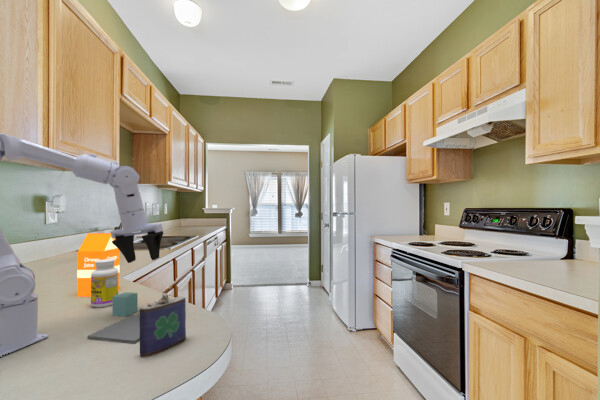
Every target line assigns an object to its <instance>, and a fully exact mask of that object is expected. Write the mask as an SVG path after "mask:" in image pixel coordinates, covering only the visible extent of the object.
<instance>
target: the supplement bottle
mask: <svg viewBox="0 0 600 400" xmlns="http://www.w3.org/2000/svg"><path fill="white" fill-rule="evenodd" d="M114 264H115V260H114V259H105V260H99V261H96V262H95V266H96V270H94V271H93V272H92V273H91V297H90V306H91V307H92V308H105V307H110V306H113V296H116V295H119V290H118V269H117V268H115V267H114Z"/></svg>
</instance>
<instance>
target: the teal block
mask: <svg viewBox="0 0 600 400" xmlns="http://www.w3.org/2000/svg"><path fill="white" fill-rule="evenodd" d="M136 312H138V292H127V291H125V292H122V293H118V295H116V296H113V305H112V316H114V317H121V318H123V317H124V318H126V317H128V316H130V315H133V314H134V313H136Z"/></svg>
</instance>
